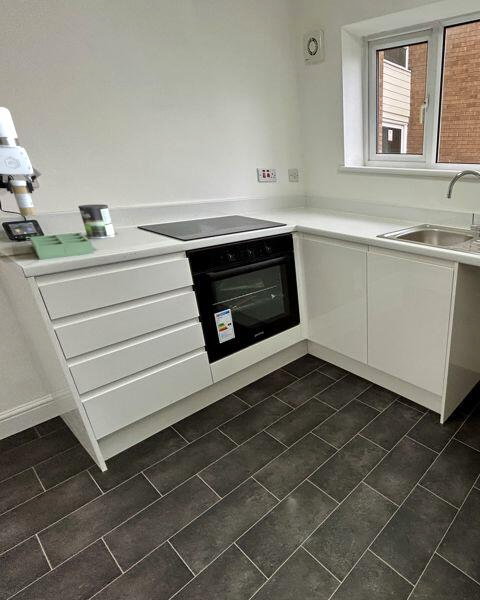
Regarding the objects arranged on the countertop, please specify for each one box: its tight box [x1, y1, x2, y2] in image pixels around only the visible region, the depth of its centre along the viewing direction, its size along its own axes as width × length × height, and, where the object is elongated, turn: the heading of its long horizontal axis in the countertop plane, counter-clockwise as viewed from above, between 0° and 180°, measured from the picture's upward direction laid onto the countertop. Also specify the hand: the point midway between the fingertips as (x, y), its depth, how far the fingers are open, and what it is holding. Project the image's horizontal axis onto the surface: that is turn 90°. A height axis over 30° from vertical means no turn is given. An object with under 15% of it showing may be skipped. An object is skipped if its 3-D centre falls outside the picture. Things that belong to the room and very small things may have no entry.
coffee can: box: [77, 204, 116, 240], centre depth 161 cm, size 10×10×14 cm
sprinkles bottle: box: [8, 179, 37, 217], centre depth 139 cm, size 5×5×13 cm
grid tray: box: [29, 232, 95, 260], centre depth 138 cm, size 15×23×5 cm
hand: (21, 192), depth 138 cm, fingers closed on sprinkles bottle, 4 cm apart
